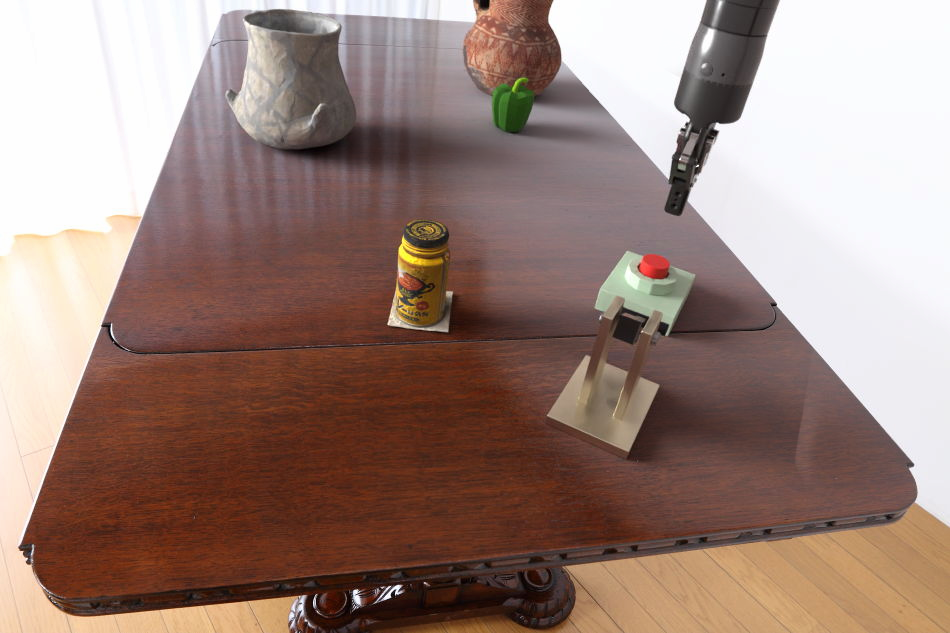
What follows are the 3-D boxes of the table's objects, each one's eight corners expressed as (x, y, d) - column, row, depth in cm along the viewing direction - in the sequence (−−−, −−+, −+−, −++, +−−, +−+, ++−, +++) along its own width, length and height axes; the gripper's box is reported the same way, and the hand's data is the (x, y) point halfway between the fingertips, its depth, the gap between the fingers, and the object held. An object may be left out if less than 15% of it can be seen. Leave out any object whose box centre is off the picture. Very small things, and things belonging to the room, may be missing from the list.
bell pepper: (492, 134, 133) (499, 84, 127) (485, 119, 140) (491, 69, 134) (533, 137, 135) (542, 87, 129) (524, 121, 141) (533, 73, 135)
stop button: (643, 262, 92) (646, 250, 90) (669, 271, 90) (673, 260, 89) (635, 273, 89) (639, 262, 88) (662, 283, 88) (666, 272, 87)
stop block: (621, 269, 98) (630, 239, 95) (689, 293, 95) (700, 263, 92) (594, 308, 89) (603, 277, 86) (667, 337, 86) (679, 305, 83)
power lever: (614, 320, 79) (621, 301, 79) (663, 339, 77) (671, 319, 77) (594, 329, 68) (602, 307, 67) (651, 352, 66) (660, 329, 65)
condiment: (387, 326, 81) (392, 240, 74) (396, 286, 88) (401, 204, 81) (447, 333, 81) (458, 248, 74) (452, 293, 88) (462, 211, 81)
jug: (559, 86, 163) (582, -29, 148) (547, 114, 146) (571, -12, 131) (470, 68, 166) (483, -46, 151) (448, 94, 149) (460, -31, 134)
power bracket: (583, 362, 80) (609, 271, 73) (657, 392, 78) (691, 301, 70) (544, 423, 71) (569, 327, 64) (626, 460, 69) (662, 364, 61)
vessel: (248, 108, 129) (239, -6, 117) (365, 123, 130) (368, 12, 118) (208, 154, 112) (193, 26, 100) (343, 171, 113) (344, 47, 101)
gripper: (744, 94, 68) (691, 243, 78) (763, 66, 78) (713, 202, 88) (671, 75, 70) (629, 222, 80) (698, 50, 80) (658, 185, 90)
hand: (673, 211), depth 84 cm, fingers closed
